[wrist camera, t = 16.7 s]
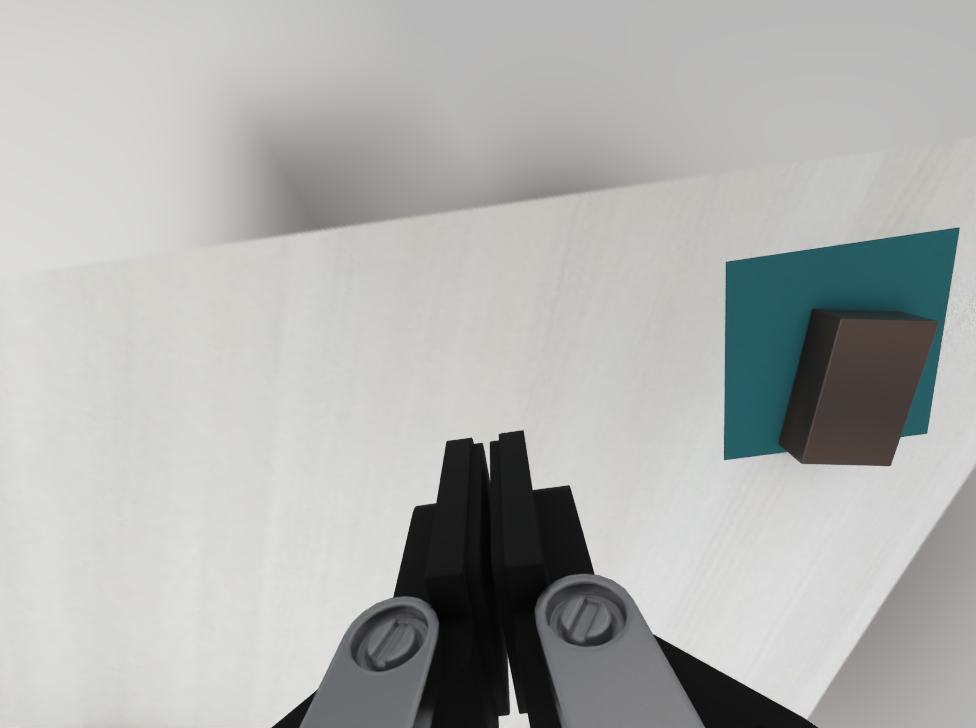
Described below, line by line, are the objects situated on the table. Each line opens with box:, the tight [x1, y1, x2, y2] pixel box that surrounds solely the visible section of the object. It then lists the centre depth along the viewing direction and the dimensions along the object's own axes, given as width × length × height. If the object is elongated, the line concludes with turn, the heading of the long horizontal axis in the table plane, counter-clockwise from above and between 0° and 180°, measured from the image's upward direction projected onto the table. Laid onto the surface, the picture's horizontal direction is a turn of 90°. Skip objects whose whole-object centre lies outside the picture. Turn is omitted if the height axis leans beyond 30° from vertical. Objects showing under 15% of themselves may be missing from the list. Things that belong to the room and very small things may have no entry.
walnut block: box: [779, 309, 939, 466], centre depth 29 cm, size 9×6×2 cm, turn 178°
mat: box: [724, 228, 960, 460], centre depth 30 cm, size 13×13×1 cm
